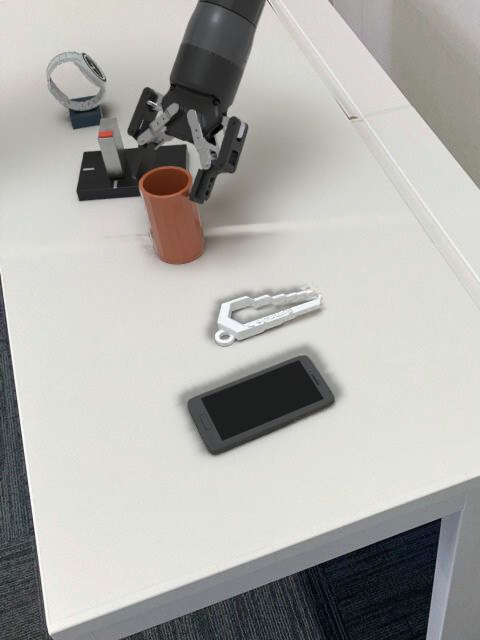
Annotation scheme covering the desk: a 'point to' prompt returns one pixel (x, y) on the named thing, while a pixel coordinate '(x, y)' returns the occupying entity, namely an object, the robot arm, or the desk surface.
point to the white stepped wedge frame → (258, 326)
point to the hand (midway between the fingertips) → (166, 191)
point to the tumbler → (172, 214)
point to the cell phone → (259, 403)
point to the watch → (83, 108)
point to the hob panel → (102, 187)
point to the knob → (112, 147)
